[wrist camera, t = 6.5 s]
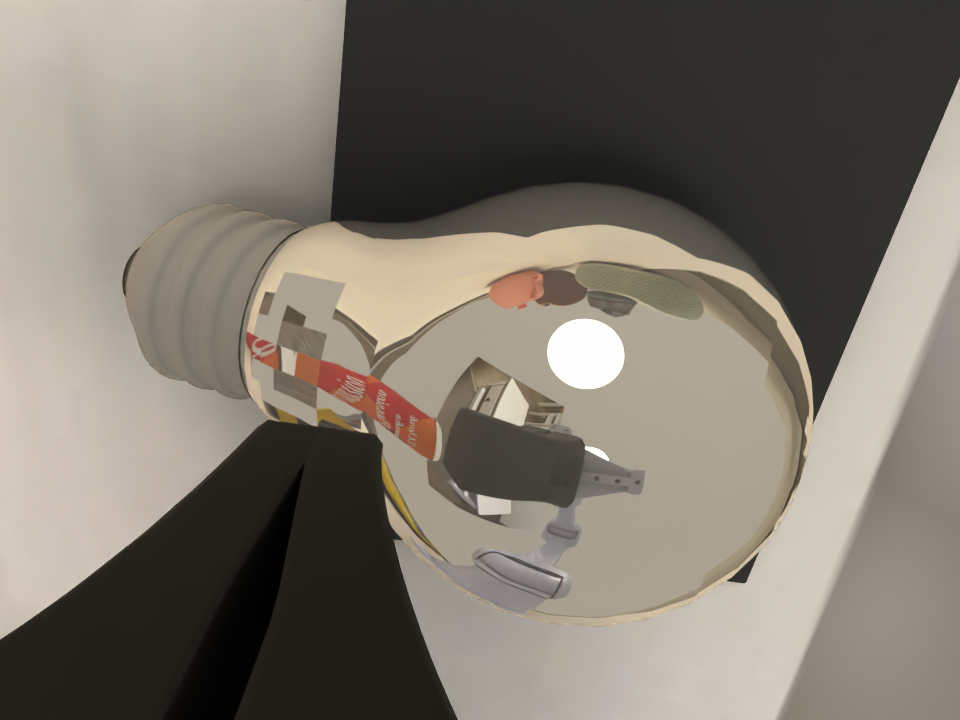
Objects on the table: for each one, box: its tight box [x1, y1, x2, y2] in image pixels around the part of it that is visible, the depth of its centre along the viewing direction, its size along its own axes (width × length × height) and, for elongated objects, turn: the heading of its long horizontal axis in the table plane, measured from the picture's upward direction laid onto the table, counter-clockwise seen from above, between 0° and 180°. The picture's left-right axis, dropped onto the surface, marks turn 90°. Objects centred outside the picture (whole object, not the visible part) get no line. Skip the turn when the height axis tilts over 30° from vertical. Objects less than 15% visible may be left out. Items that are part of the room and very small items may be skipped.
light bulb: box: [122, 181, 813, 627], centre depth 14 cm, size 7×7×12 cm
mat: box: [330, 0, 960, 583], centre depth 16 cm, size 16×11×1 cm
